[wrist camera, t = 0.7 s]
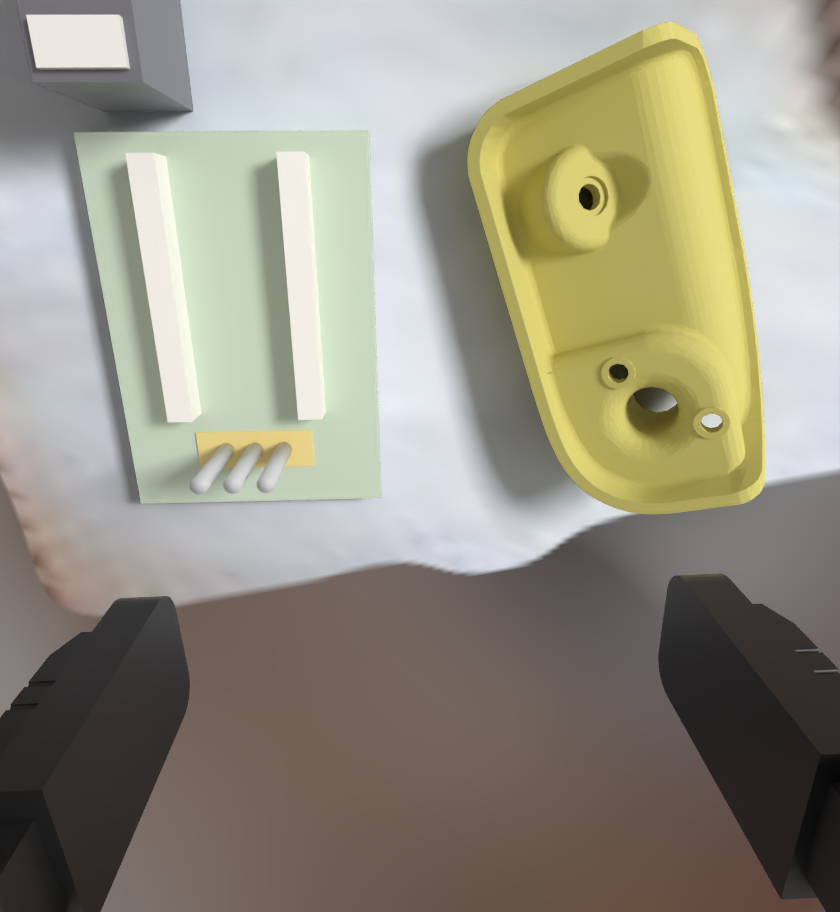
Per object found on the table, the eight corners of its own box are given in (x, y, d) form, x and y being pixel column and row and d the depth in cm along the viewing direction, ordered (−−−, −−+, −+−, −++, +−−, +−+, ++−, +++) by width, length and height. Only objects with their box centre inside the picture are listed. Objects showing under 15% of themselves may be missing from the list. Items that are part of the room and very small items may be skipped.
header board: (86, 136, 28) (5, 111, 23) (368, 134, 29) (361, 109, 23) (149, 494, 35) (99, 548, 29) (381, 489, 35) (378, 541, 29)
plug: (78, -49, 26) (-15, -131, 20) (174, -49, 26) (108, -130, 20) (105, 111, 28) (27, 80, 22) (193, 111, 28) (139, 79, 22)
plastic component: (452, 123, 27) (700, 2, 22) (502, 132, 33) (704, 38, 28) (571, 524, 32) (793, 499, 27) (595, 467, 38) (779, 438, 33)
